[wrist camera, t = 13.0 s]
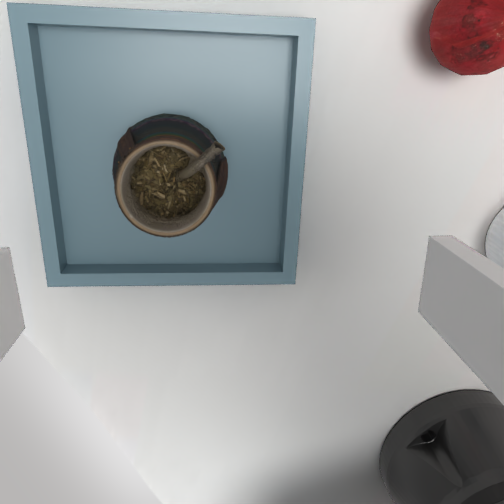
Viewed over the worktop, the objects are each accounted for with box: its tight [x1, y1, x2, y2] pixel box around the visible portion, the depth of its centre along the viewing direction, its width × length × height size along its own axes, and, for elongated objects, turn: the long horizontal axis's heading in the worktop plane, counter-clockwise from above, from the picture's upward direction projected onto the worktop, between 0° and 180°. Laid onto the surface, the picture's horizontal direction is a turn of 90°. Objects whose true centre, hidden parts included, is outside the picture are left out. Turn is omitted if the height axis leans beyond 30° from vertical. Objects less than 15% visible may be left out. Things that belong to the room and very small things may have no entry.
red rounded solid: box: [429, 0, 504, 75], centre depth 27 cm, size 6×6×8 cm
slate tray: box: [7, 2, 316, 287], centre depth 31 cm, size 18×18×2 cm
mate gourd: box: [112, 113, 228, 238], centre depth 27 cm, size 7×8×10 cm
